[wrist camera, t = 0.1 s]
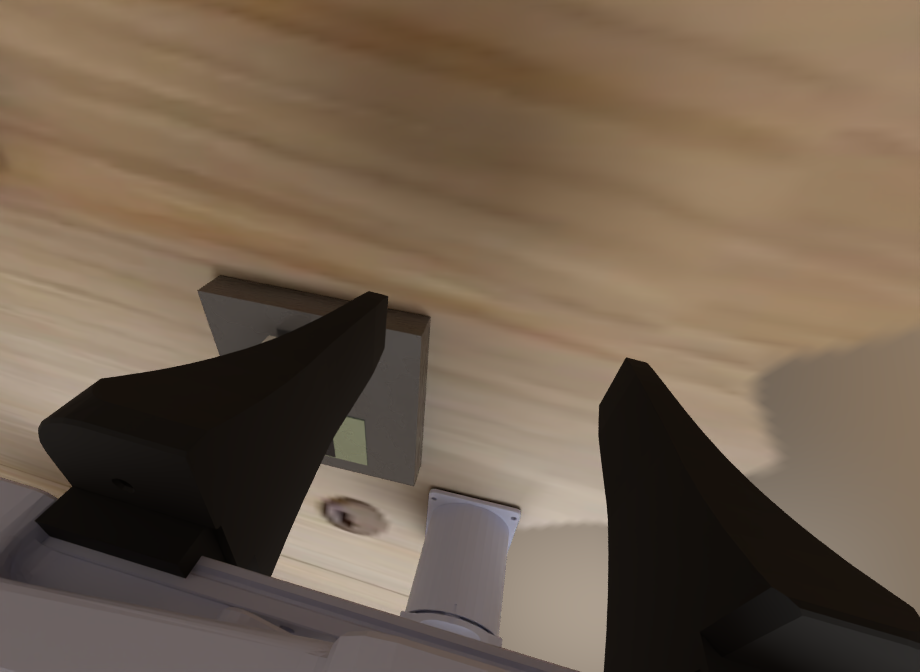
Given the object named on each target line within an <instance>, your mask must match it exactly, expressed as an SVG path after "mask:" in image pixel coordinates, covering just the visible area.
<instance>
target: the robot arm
mask: <svg viewBox="0 0 920 672" xmlns="http://www.w3.org/2000/svg"><path fill="white" fill-rule="evenodd" d="M387 306H388V296H385V295H382V294H378V293H374V292H370V291H368V292H366V293H364V294H363V295H361V296H359V297H357V298H355V299H354V300H352V301H350V302H348V303H346V304H345V305H343V306H341V307H339V308H337V309H335V310H334V311H332V312H330V313H328V314H326V315H324V316H322V317H320V318H318V319H316V320H314V321H312V322H310V323H308V324H306V325H304V326H302V327H299V328H297V329H295V330H293V331H291V332H289V333H286V334H284V335H282V336H279V337H277V338H274V339H271V340H269V341H266V342H263V343H260V344H258V345H255V346H252V347H249V348H246V349H242V350H239V351H236V352H232V353H229V354H225V355H222V356H218V357H215V358H211V359H207V360H203V361H199V362H195V363H191V364H186V365H181V366H176V367H172V368H167V369H161V370H156V371H150V372H143V373H137V374H130V375H124V376H117V377H110V378H102V379H100V380H98V381H97V382H96V383H94V384H93V385H91V386H90V387H89V388H87V389H86V390H85V391H83V392H82V393H80V394H79V395H78V396H76V397H75V398H73V399H72V400H71V401H69V402H68V403H67V404H65V405H64V406H62V407H61V408H60V409H58V410H57V411H56V412H54V413H53V414H51V415H50V416H49V417H47V418H46V419H44V420H43V421H42V422H41V424H40V426H39V428H38V434H39V439H40V443H41V444H42V446H43V448H44V449H45V451H46V452H47V454H48V455H49V456H50V458H51V459H52V460H53V462H54V463H55V464H56V465H57V467H58V468H59V469H60V471H61V472H62V473H63V475H64V476H65V477H66V479H67V480H68V481H69V482H70V484H71V485H72V487H71V488H70V489H69V490H68V491H67V492H66V493H65V494H63V495H62V496H61V497H60V498H59V499H57V498H56V497H54V496H53V495H51V494H49V493H48V492H45V491H43V490H40V489H38V488H34V487H31V486H28V485H24V484H21V483H18V482H15V481H11V480H8V479H5V478H1V477H0V672H580V671H576V670H573V669H570V668H567V667H563V666H560V665H556V664H554V663H550V662H547V661H543V660H540V659H537V658H534V657H531V656H527V655H524V654H521V653H518V652H514V651H511V650H508V649H505V648H501V647H502V638H501V637H499V627H500V618H501V608H502V598H503V588H504V579H505V569H506V560H507V553H508V550H509V547H510V545H511V542H512V539H513V536H514V533H515V531H516V528H517V525H518V522H519V520H520V517H521V511H520V510H519V509H517V508H513V507H508V506H504V505H500V504H496V503H492V502H488V501H484V500H480V499H476V498H471V497H467V496H463V495H459V494H455V493H451V492H447V491H443V490H438V489H431V490H430V492H429V500H428V510H427V521H426V532H425V541H424V544H423V548H422V552H421V555H420V559H419V563H418V566H417V570H416V574H415V577H414V581H413V585H412V588H411V592H410V596H409V599H408V603H407V607H406V610H405V612H404V611H401V613H400V616H397V615H394V614H390V613H387V612H384V611H381V610H377V609H374V608H371V607H367V606H364V605H361V604H358V603H354V602H351V601H348V600H345V599H341V598H338V597H335V596H332V595H328V594H325V593H322V592H318V591H315V590H312V589H309V588H305V587H302V586H299V585H296V584H292V583H289V582H286V581H283V580H279V579H276V578H273V577H271V575H272V573H273V570H274V568H275V566H276V563H277V561H278V558H279V556H280V554H281V551H282V549H283V546H284V544H285V541H286V539H287V537H288V534H289V532H290V530H291V528H292V525H293V523H294V521H295V519H296V516H297V514H298V512H299V509H300V507H301V505H302V503H303V500H304V498H305V496H306V494H307V492H308V490H309V488H310V485H311V483H312V481H313V479H314V477H315V475H316V472H317V470H318V468H319V466H320V464H321V462H322V460H323V458H324V456H325V454H326V452H327V450H328V448H329V446H330V444H331V442H332V440H333V438H334V437H335V435H336V433H337V431H338V430H339V428H340V426H341V425H342V423H343V422H344V420H345V419H346V417H347V415H348V414H349V412H350V411H351V409H352V407H353V406H354V404H355V403H356V401H357V399H358V398H359V396H360V395H361V393H362V391H363V390H364V388H365V387H366V385H367V383H368V382H369V380H370V378H371V377H372V375H373V373H374V371H375V369H376V367H377V365H378V362H379V360H380V358H381V356H382V353H383V351H384V349H385V336H386V321H387ZM598 436H599V445H600V454H601V463H602V471H603V479H604V487H605V495H606V503H607V514H608V551H609V556H608V559H609V561H608V607H607V631H606V648H605V662H604V672H920V617H919V615H918V614H917V612H916V611H915V609H914V608H913V607H911V606H910V605H909V604H907V603H906V602H904V601H903V600H901V599H900V598H898V597H897V596H895V595H894V594H893V593H891V592H890V591H888V590H887V589H886V588H884V587H882V586H881V585H880V584H878V583H877V582H875V581H874V580H873V579H871V578H870V577H868V576H867V575H865V574H864V573H862V572H861V571H859V570H858V569H857V568H855V567H854V566H852V565H851V564H850V563H848V562H847V561H846V560H844V559H843V558H842V557H840V556H839V555H838V554H836V553H835V552H834V551H833V550H831V549H830V548H829V547H827V546H826V545H825V544H823V543H822V542H821V541H819V540H818V539H817V538H816V537H814V536H813V535H812V534H810V533H809V532H808V531H807V530H805V529H804V528H803V527H802V526H800V525H799V524H798V523H797V522H796V521H794V520H793V519H792V518H791V517H790V516H788V515H787V514H786V513H784V511H782V509H780V508H779V507H778V506H777V505H776V504H775V503H773V502H772V501H771V500H770V499H769V498H768V497H767V496H765V495H764V494H763V493H762V492H761V491H760V490H759V489H758V488H757V487H755V486H754V485H753V484H752V483H751V482H750V481H749V480H748V479H747V478H746V477H745V476H744V475H743V474H742V473H741V472H740V471H739V470H738V469H737V468H736V467H735V466H734V465H733V464H732V463H731V462H730V461H729V460H728V459H727V458H726V457H725V456H724V455H723V454H722V453H721V452H720V451H719V449H718V448H717V447H716V446H715V445H714V444H713V443H712V442H711V440H710V439H709V438H708V437H707V436H706V435H705V434H704V433H703V431H702V430H701V429H700V428H699V427H698V426H697V424H696V423H695V422H694V421H693V420H692V418H691V417H690V416H689V415H688V413H687V412H686V411H685V410H684V408H683V407H682V406H681V405H680V403H679V402H678V401H677V400H676V398H675V397H674V396H673V394H672V393H671V392H670V391H669V389H668V388H667V387H666V385H665V384H664V383H663V382H662V380H661V379H660V378H659V376H658V375H657V374H656V373H655V371H654V370H653V369H652V368H651V367H650V365H649V364H648V363H646V362H642V361H638V360H634V359H630V358H625V360H624V362H623V364H622V366H621V367H620V369H619V371H618V373H617V375H616V376H615V378H614V380H613V382H612V383H611V385H610V387H609V389H608V391H607V392H606V394H605V396H604V398H603V400H602V401H601V403H600V405H599V433H598Z"/></svg>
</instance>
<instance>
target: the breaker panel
mask: <svg viewBox="0 0 920 672" xmlns="http://www.w3.org/2000/svg"><path fill="white" fill-rule="evenodd" d="M197 291H198V294H199V297H200V300H201V302H202V305H203V308H204V311H205V314H206V317H207V320H208V323H209V326H210V329H211V331H212V334H213V337H214V340H215V343H216V346H217V349H218V352H219V355H220V356H222V355H225V354H229V353H232V352H236V351H239V350H242V349H246V348H249V347H252V346H255V345H258V344H260V343H262V342H263V341H264V340H265V339H266V338H267V337H268V336H269V335H270V336H274V337H279V336H282V335H284V334H286V333H289V332H291V331H293V330H295V329H297V328H299V327H302V326H304V325H306V324H308V323H310V322H312V321H314V320H316V319H318V318H320V317H322V316H324V315H326V314H328V313H330V312H332V311H334V310H335V309H337V308H339V307H341V306H343V305H345V304H346V303H348V302H350V301H346V300H341V299H336V298H331V297H326V296H321V295H316V294H311V293H306V292H301V291H296V290H291V289H286V288H281V287H275V286H270V285H265V284H260V283H255V282H250V281H245V280H240V279H235V278H230V277H225V276H218V277H217V278H215V279H214V280H212V281H211V282H209V283H208V284H206V285H205V286H203V287H202V288H200V289H199V290H197ZM430 318H431V317H427V316H422V315H417V314H412V313H407V312H402V311H397V310H392V309H387V321H386V336H385V349H384V351H383V353H382V356H381V358H380V360H379V362H378V365H377V367H376V369H375V371H374V373H373V375H372V377H371V378H370V380H369V382H368V383H367V385H366V387H365V388H364V390H363V391H362V393H361V395H360V396H359V398H358V399H357V401H356V403H355V404H354V406H353V407H352V409H351V411H350V412H349V414H348V415H347V417H346V419H345V420H344V422H343V423H342V425H341V426H340V428H339V430H338V431H337V433H336V435H335V437H334V438H333V440H332V442H331V444H330V446H329V448H328V450H327V452H326V454H325V456H324V458H323V460H322V462H321V464H325V465H329V466H333V467H337V468H341V469H345V470H349V471H353V472H357V473H362V474H366V475H370V476H374V477H378V478H382V479H386V480H390V481H394V482H399V483H403V484H407V485H411V486H414V485H415V482H416V479H417V476H418V473H419V470H420V467H421V457H422V441H423V426H424V410H425V395H426V379H427V364H428V348H429V333H430Z"/></svg>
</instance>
